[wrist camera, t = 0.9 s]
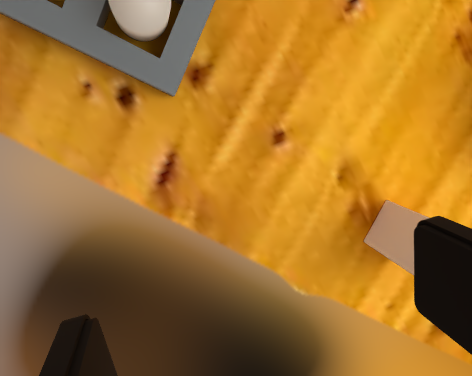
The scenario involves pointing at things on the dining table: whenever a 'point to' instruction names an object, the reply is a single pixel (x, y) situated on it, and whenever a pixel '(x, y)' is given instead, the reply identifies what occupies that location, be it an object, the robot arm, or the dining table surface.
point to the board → (110, 46)
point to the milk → (395, 234)
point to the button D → (141, 17)
